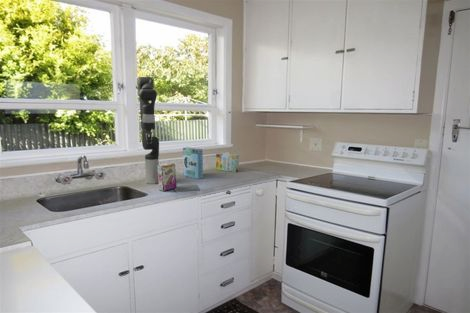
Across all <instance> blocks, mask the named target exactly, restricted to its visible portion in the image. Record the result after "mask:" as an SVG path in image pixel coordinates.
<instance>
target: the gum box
mask: <svg viewBox="0 0 470 313" xmlns="http://www.w3.org/2000/svg"><path fill="white" fill-rule="evenodd" d="M182 153H183V155H182V156H183V157H182V159H183V160H182V161H183V163H182V165H183V176H184V177H189V178H193V179H196V180H201V179H204V168H203V167H204V166H203V164H204V163H203V159H204V158H203V156H204V155H203V149H202V148H196V147H187V146H185V147H182Z"/></svg>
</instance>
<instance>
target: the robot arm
mask: <svg viewBox="0 0 470 313" xmlns="http://www.w3.org/2000/svg"><path fill="white" fill-rule="evenodd" d="M136 83H137V91H138V99H139V113H140V114H139V115H140V122H141V144H142V148H143V150H145V151H150V152H148V153H147V154H145V156H144V161H145V162H144V164H145V184H150V185H151V184H159V182H158V169H157V166H159V165H160V164H159V156H160V140H159V137H157V136H154V135H153V132H152V130H156V117H155V104H156V101H157V97H158V92H157V91H156V90H155V89H154V88H155V86H154V85H155V83H154V78H152V77H151V76H138V77H137V80H136Z"/></svg>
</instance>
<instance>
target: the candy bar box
mask: <svg viewBox="0 0 470 313" xmlns="http://www.w3.org/2000/svg"><path fill="white" fill-rule="evenodd" d="M157 169H158V182H159V183H158V190H159V191H161V192H165V191H170V190H172V189H174V188H176V186H177V177H176V176H177V175H176V164H175V163H173V162H171V163H165V164H159V166H157Z"/></svg>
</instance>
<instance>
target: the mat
mask: <svg viewBox="0 0 470 313" xmlns="http://www.w3.org/2000/svg"><path fill="white" fill-rule="evenodd" d="M173 189H174V192H175V193H176V192H177V193H179V192H197V191H198V192H199V191H201V189H200V188H199V186H198V184H184V185H183V184H180V185H179V184H177V185H176V188H173Z"/></svg>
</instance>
